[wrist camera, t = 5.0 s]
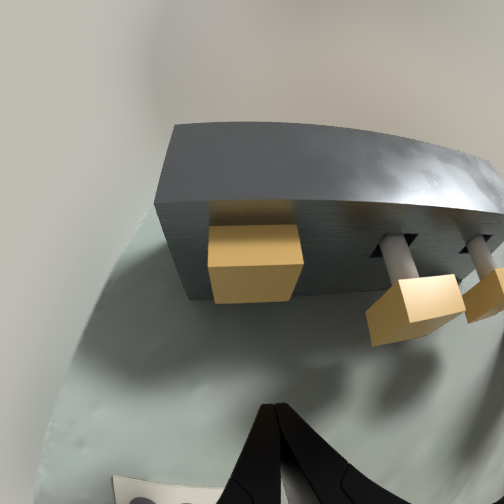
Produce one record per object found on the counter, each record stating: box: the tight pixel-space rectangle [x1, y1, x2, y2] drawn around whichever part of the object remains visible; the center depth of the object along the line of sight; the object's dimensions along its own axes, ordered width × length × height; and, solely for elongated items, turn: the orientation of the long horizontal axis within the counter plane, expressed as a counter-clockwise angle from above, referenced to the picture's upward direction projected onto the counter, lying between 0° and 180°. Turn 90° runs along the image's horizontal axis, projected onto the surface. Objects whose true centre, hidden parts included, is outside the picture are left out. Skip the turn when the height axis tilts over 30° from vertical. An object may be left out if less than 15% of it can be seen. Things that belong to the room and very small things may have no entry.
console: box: [154, 122, 504, 300], centre depth 17 cm, size 6×24×10 cm, turn 93°
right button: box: [462, 234, 504, 324], centre depth 14 cm, size 8×4×4 cm, turn 3°
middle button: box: [365, 233, 466, 347], centre depth 13 cm, size 8×4×4 cm, turn 3°
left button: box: [208, 225, 304, 304], centre depth 14 cm, size 8×4×4 cm, turn 3°
